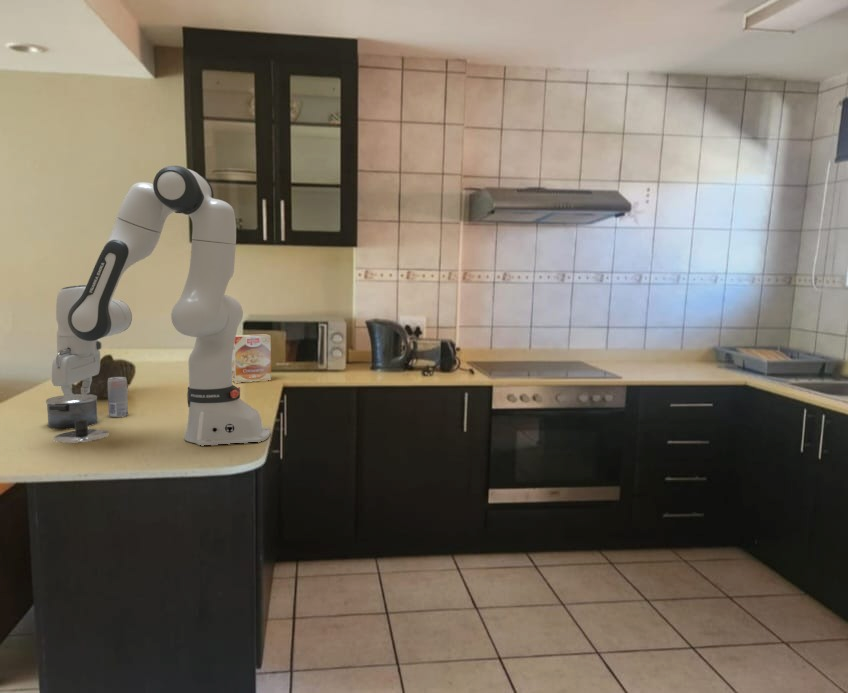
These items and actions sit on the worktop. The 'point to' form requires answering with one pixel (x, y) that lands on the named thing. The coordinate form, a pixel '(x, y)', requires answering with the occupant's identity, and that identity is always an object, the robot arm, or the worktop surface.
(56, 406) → the pot
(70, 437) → the lid
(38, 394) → the worktop surface
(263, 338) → the coffeecake box
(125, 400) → the energy drink
